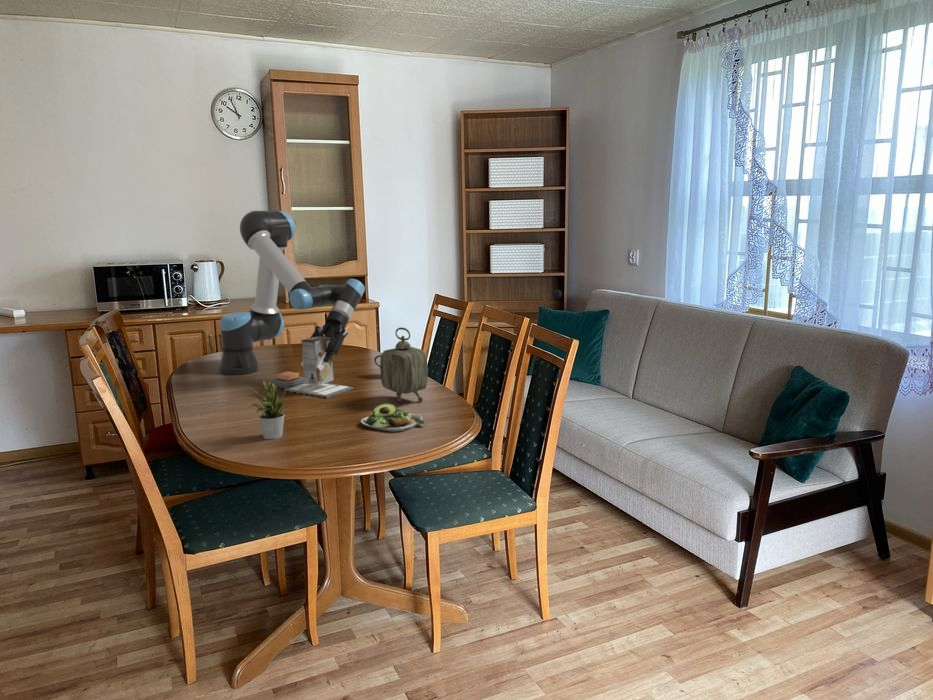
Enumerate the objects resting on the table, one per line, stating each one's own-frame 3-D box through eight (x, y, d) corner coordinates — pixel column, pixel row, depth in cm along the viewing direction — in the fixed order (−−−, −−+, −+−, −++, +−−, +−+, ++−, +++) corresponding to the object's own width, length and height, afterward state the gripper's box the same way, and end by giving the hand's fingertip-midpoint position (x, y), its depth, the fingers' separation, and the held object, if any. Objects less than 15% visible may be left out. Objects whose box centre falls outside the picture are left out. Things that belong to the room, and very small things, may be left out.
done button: (276, 378, 252) (276, 374, 252) (287, 375, 257) (287, 371, 257) (288, 380, 249) (287, 376, 249) (299, 377, 254) (298, 373, 254)
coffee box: (320, 378, 251) (318, 335, 248) (334, 380, 248) (332, 336, 245) (303, 384, 243) (300, 339, 240) (317, 386, 240) (315, 341, 237)
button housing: (270, 386, 252) (269, 379, 252) (288, 381, 260) (287, 374, 259) (288, 389, 247) (288, 382, 247) (306, 384, 255) (306, 377, 255)
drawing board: (284, 391, 245) (284, 388, 245) (311, 382, 257) (311, 380, 257) (327, 398, 235) (327, 395, 235) (353, 389, 247) (353, 386, 247)
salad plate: (439, 421, 210) (439, 406, 209) (406, 437, 194) (406, 422, 194) (387, 412, 219) (387, 398, 218) (352, 428, 204) (352, 413, 203)
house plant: (237, 433, 198) (233, 378, 194) (283, 425, 205) (280, 372, 202) (253, 447, 186) (249, 388, 183) (302, 437, 194) (298, 381, 191)
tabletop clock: (428, 401, 230) (427, 328, 225) (408, 407, 223) (407, 331, 218) (398, 394, 239) (396, 323, 235) (379, 399, 233) (376, 327, 228)
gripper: (365, 324, 250) (337, 376, 239) (324, 320, 260) (296, 370, 249) (355, 311, 244) (326, 364, 234) (314, 308, 254) (284, 359, 243)
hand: (311, 367), depth 241 cm, fingers closed on coffee box, 6 cm apart
